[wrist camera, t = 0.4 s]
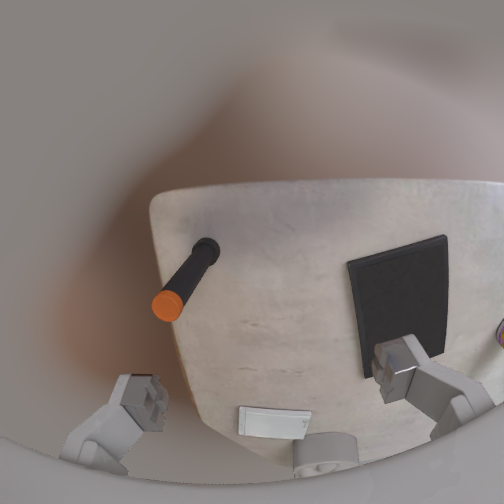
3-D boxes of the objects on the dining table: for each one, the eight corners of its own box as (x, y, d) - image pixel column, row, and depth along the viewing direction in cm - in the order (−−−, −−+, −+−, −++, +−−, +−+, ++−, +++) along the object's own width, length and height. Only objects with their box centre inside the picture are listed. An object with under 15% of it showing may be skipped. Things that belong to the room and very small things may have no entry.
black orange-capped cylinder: (191, 241, 35) (141, 295, 22) (215, 234, 34) (173, 288, 21) (200, 264, 36) (157, 327, 23) (223, 258, 35) (189, 322, 22)
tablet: (346, 261, 34) (348, 265, 33) (443, 234, 31) (447, 236, 30) (363, 374, 40) (365, 379, 39) (441, 349, 37) (444, 353, 36)
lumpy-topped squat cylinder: (292, 435, 47) (291, 471, 39) (358, 427, 45) (364, 463, 37) (295, 458, 50) (294, 489, 42) (354, 451, 48) (357, 482, 40)
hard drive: (311, 416, 42) (238, 412, 43) (303, 440, 45) (238, 435, 46) (311, 409, 44) (239, 405, 45) (303, 433, 46) (239, 429, 47)
